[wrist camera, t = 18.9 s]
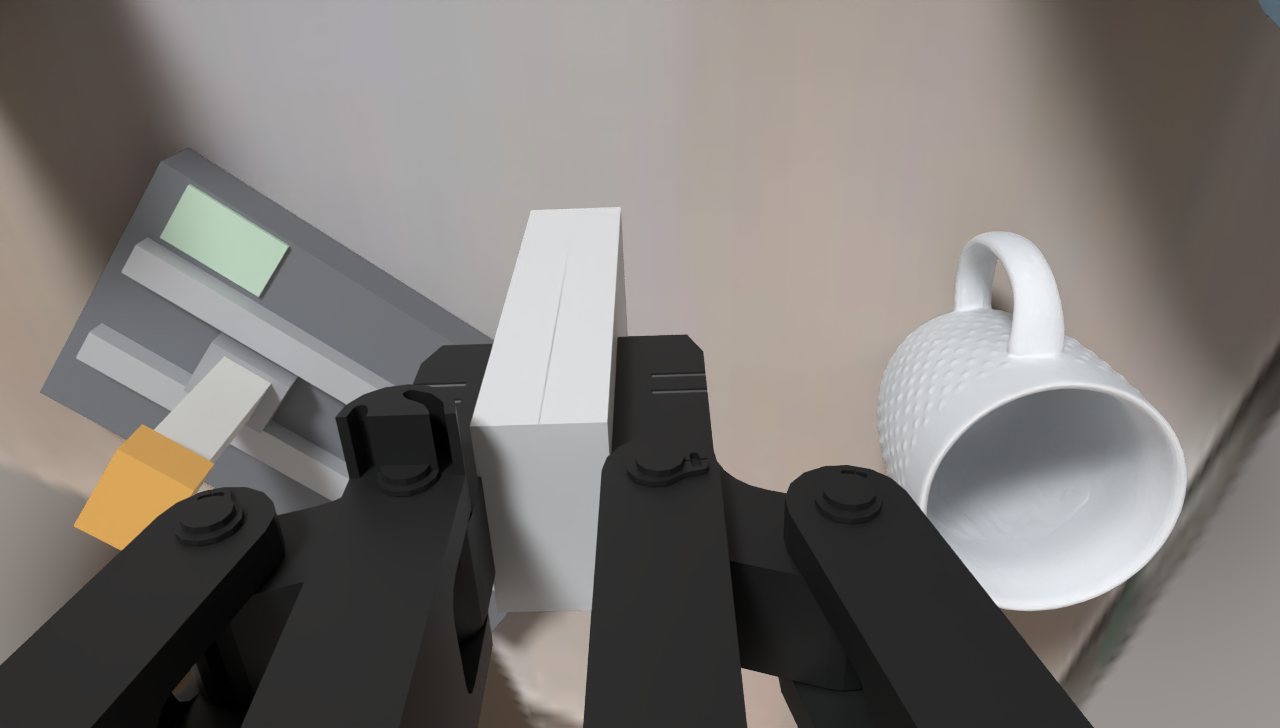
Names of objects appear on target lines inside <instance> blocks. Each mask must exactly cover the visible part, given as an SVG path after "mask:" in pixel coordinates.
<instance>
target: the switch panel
mask: <svg viewBox="0 0 1280 728" xmlns="http://www.w3.org/2000/svg"><path fill="white" fill-rule="evenodd" d="M221 332H224V333H225V334H227V335H229V336H231V337H232V338H234V339H236V340H237V341H239V342H241V343H243V344H244V345H246V346H248V347H249V348H251V349H253V350H254V351H256V352H258V353H260V354H261V355H263V356H265V357H266V358H268V359H270V360H271V361H273V362H275V363H277V364H278V365H280V366H282V367H283V368H285V369H287V370H289V371H290V372H292V373H294V374H295V375H297V376H298V378H297V379H296V381H295V382H294V384H293V386H292V387H291V389H290V390H289V392H288V393H287V395H286V397H285V398H284V400H283V401H282V403H281V404H280V406H279V408H278V409H277V411H276V412H275V414H274V416H273V417H272V419H271V420H270V421H269V423H268V424H267V426H266V427H265V428H264V430H263V431H262V432H261V434H260V433H258V432H256V431H254V430H253V429H251V428H249V427H247V426H246V425H244V426H243V428H242V429H241V430H240V432H239V433H238V434H237V435H236V437H235V438H234V439H233V441H232V442H231V443H230V444H229V446H228V447H227V448H226V449H225V451H224V452H223V453H222V455H221V456H220V457H219V458H218V460H217V461H216V462H215V463H214V466H213V467H212V469H211V471H210V472H209V474H208V475H207V477H206V479H205V480H204V482H206V483H208V484H209V485H211V486H213V487H215V488H222V487H248V488H251V489H255V490H258V491H261V492H264V493H265V494H266V495H267V496H268V497H269V498H270V499H271V500H272V501H273V502H274V506H275V509H276V513H277V515H280V514H285V513H289V512H293V511H298V510H302V509H306V508H310V507H315V506H318V505H321V504H325V503H328V502H331V501H334V500H337V499H339V498H341V497H342V494H343V492H344V490H345V488H346V485H347V483H348V481H349V475H348V471H347V467H346V462H345V458H344V454H343V449H342V445H341V441H340V436H339V432H338V428H337V423H336V419H335V417H336V416H337V415H338V413H339V412H340V411H341V410H342V409H343V408H344V406H345V405H347V404H348V403H350V402H352V401H353V400H355V399H357V398H358V397H360V396H362V395H363V394H366V393H369V392H372V391H375V390H378V389H381V388H384V387H391V386H399V385H406V384H411V385H413V382H414V380H415V377H416V375H417V372H418V370H419V367H420V365H421V363H422V362H424V361H425V360H426V359H427V358H428V357H429V356H431V355H432V354H433V353H434V352H435V351H436V350H438V349H439V348H440V347H441V346H442V345H467V344H493V343H494V340H492V339H491V338H489V337H488V336H486V335H485V334H483V333H481V332H480V331H478V330H477V329H475V328H473V327H472V326H470V325H469V324H467V323H465V322H464V321H462V320H461V319H459V318H458V317H456V316H454V315H453V314H451V313H450V312H448V311H446V310H445V309H443V308H442V307H440V306H439V305H437V304H435V303H434V302H432V301H431V300H429V299H427V298H426V297H424V296H423V295H421V294H419V293H418V292H416V291H415V290H413V289H412V288H410V287H408V286H407V285H405V284H404V283H402V282H400V281H399V280H397V279H396V278H394V277H393V276H391V275H389V274H388V273H386V272H385V271H383V270H381V269H380V268H378V267H377V266H375V265H373V264H372V263H370V262H369V261H367V260H366V259H364V258H362V257H361V256H359V255H358V254H356V253H354V252H353V251H351V250H350V249H348V248H347V247H345V246H343V245H342V244H340V243H339V242H337V241H335V240H334V239H332V238H331V237H329V236H327V235H326V234H324V233H323V232H321V231H320V230H318V229H316V228H315V227H313V226H312V225H310V224H308V223H307V222H305V221H304V220H302V219H301V218H299V217H297V216H296V215H294V214H293V213H291V212H289V211H288V210H286V209H285V208H283V207H282V206H280V205H278V204H277V203H275V202H274V201H272V200H270V199H269V198H267V197H266V196H264V195H262V194H261V193H259V192H258V191H256V190H255V189H253V188H251V187H250V186H248V185H247V184H245V183H243V182H242V181H240V180H239V179H237V178H236V177H234V176H232V175H231V174H229V173H228V172H226V171H224V170H223V169H221V168H220V167H218V166H216V165H215V164H213V163H212V162H210V161H209V160H207V159H205V158H204V157H202V156H201V155H199V154H197V153H196V152H194V151H193V150H191V149H190V148H187V149H185V150H183V151H181V152H179V153H177V154H175V155H172V156H170V157H168V158H166V159H164V160H162V161H161V162H160V164H159V166H158V167H157V169H156V171H155V173H154V175H153V177H152V179H151V181H150V183H149V185H148V187H147V188H146V190H145V192H144V194H143V196H142V198H141V200H140V202H139V204H138V206H137V208H136V210H135V211H134V213H133V215H132V217H131V219H130V221H129V223H128V225H127V227H126V229H125V231H124V232H123V234H122V236H121V238H120V240H119V242H118V244H117V246H116V248H115V250H114V252H113V253H112V255H111V257H110V259H109V261H108V263H107V265H106V267H105V269H104V271H103V273H102V275H101V276H100V278H99V280H98V282H97V284H96V286H95V288H94V290H93V292H92V294H91V296H90V297H89V299H88V301H87V303H86V305H85V307H84V309H83V311H82V313H81V315H80V317H79V319H78V320H77V322H76V324H75V326H74V328H73V330H72V332H71V334H70V336H69V338H68V340H67V341H66V343H65V345H64V347H63V349H62V351H61V353H60V355H59V357H58V359H57V361H56V362H55V364H54V366H53V368H52V370H51V372H50V374H49V376H48V378H47V380H46V382H45V384H44V385H43V387H42V389H41V391H40V393H42V394H44V395H46V396H47V397H49V398H51V399H53V400H55V401H57V402H58V403H60V404H62V405H64V406H66V407H68V408H70V409H71V410H73V411H75V412H77V413H79V414H81V415H82V416H84V417H86V418H88V419H90V420H92V421H93V422H95V423H97V424H99V425H101V426H103V427H105V428H106V429H108V430H110V431H112V432H114V433H116V434H117V435H119V436H121V437H123V438H125V439H128V438H129V437H130V436H131V435H132V434H133V433H134V432H135V431H136V430H137V429H138V428H139V427H140V426H141V425H142V424H143V425H145V426H147V427H149V428H151V429H152V430H154V429H155V428H156V427H157V426H158V425H159V424H160V423H161V422H162V421H163V420H164V419H165V418H166V417H167V416H168V415H169V414H170V412H171V411H172V410H173V409H174V408H175V407H176V406H177V405H178V404H179V403H180V402H181V401H182V400H183V399H184V398H185V397H186V396H187V395H188V394H189V393H187V392H185V391H184V388H185V387H186V385H187V383H188V381H189V380H190V378H191V376H192V375H193V373H194V371H195V369H196V368H197V366H198V364H199V363H200V361H201V359H202V358H203V356H204V354H205V352H206V351H207V349H208V347H209V346H210V344H211V342H212V341H213V340H214V339H215V338H216V337H217V336H218V335H219V334H220V333H221ZM488 613H489V619H490V626H491V633H492V631H493V630H494V629H495V628H496V626H497V625H498V624H499V623H500V622H501V620H502V619H503V618H504V617H505V615H506V614H507V613H498V610H497V603H496V597H495V590H494V584H493V589H492V594H491V599H490V604H489V609H488Z"/></svg>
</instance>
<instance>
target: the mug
mask: <svg viewBox="0 0 1280 728" xmlns="http://www.w3.org/2000/svg"><path fill="white" fill-rule="evenodd" d="M998 258H999V260H1000V261H1001V263H1002V264H1003V266H1004V268H1005V270H1006V272H1007V275H1008V277H1009V279H1010V282H1011V286H1012V289H1013V298H1014V311H1013V312H1005V311H1002V310H993V309H992V307H991V295H992V284H993V279H994V273H995V266H996V262H997V259H998ZM877 417H878V427H877V429H878V432H879V435H880V440H879V443H880V446H881V448H882V453H883V460H884V462H885V464H886V466H887V474H888V476H889V477H890V478H892V479H893V480H894V481H895V482H897V483H898V484H899V485H900V486H901V487H902V488H904V489H905V490H906V491H907V492H908V494H909V495H910V496H911V497H912V499H913V500H914V501H915V502H916V504H917V505H918V506H919V507H920V509H921V510H922V511H923V513H924V514H925V515H926V516H927V518H928V519H929V520H930V521H931V523H932V524H933V525H934V526H935V528H936V529H937V530H938V531H939V533H940V534H941V535H942V537H943V538H944V539H945V540H946V542H947V543H948V544H949V545H950V547H951V548H952V549H953V550H954V552H955V553H956V554H957V556H958V557H959V558H960V559H961V561H962V562H963V563H964V564H965V566H966V567H967V568H968V569H969V571H970V572H971V573H972V574H973V576H974V577H975V578H976V580H977V581H978V582H979V583H980V585H981V586H982V587H983V588H984V590H985V591H986V592H987V593H988V595H989V596H990V597H991V598H992V600H993V601H994V602H995V604H996V605H997V606H998V607H999V608H1002V609H1008V610H1017V611H1041V610H1051V609H1058V608H1062V607H1067V606H1071V605H1074V604H1078V603H1081V602H1084V601H1087V600H1090V599H1092V598H1095V597H1098V596H1100V595H1102V594H1104V593H1106V592H1108V591H1110V590H1112V589H1113V588H1115V587H1117V586H1119V585H1120V584H1122V583H1124V582H1125V581H1126V580H1128V579H1129V578H1130V577H1132V576H1133V575H1134V574H1136V573H1137V572H1138V571H1139V570H1140V569H1141V568H1143V567H1144V566H1145V565H1146V564H1147V563H1148V562H1149V561H1150V560H1151V559H1152V557H1153V556H1154V555H1155V554H1156V553H1157V552H1158V551H1159V549H1160V548H1161V547H1162V545H1163V544H1164V543H1165V541H1166V540H1167V538H1168V537H1169V535H1170V533H1171V531H1172V530H1173V528H1174V526H1175V523H1176V521H1177V519H1178V517H1179V515H1180V512H1181V509H1182V506H1183V502H1184V498H1185V493H1186V485H1187V468H1186V462H1185V456H1184V453H1183V449H1182V447H1181V444H1180V442H1179V440H1178V438H1177V436H1176V434H1175V432H1174V430H1173V429H1172V427H1171V426H1170V425H1169V423H1168V422H1167V420H1166V419H1165V418H1164V417H1163V416H1162V415H1161V414H1160V413H1159V412H1158V411H1157V410H1156V409H1155V408H1154V407H1153V406H1152V405H1151V404H1150V403H1149V402H1148V401H1147V400H1146V399H1145V398H1144V397H1143V396H1142V395H1141V394H1140V392H1139V390H1137V389H1135V388H1134V387H1132V386H1131V385H1130V384H1129V383H1128V382H1127V381H1126V380H1125V378H1124V377H1123V376H1122V375H1120V374H1118V373H1116V372H1115V371H1114V370H1113V369H1112V368H1111V367H1110V366H1109V364H1108V363H1107V362H1105V361H1103V360H1101V359H1100V358H1098V357H1097V356H1096V355H1095V354H1094V353H1093V351H1090V350H1088V349H1086V348H1085V347H1083V346H1082V345H1081V344H1080V343H1079V342H1078V341H1077V340H1075V339H1072V338H1070V337H1068V336H1066V335H1065V334H1064V317H1063V311H1062V305H1061V300H1060V296H1059V292H1058V288H1057V284H1056V281H1055V279H1054V276H1053V273H1052V271H1051V269H1050V267H1049V265H1048V263H1047V261H1046V259H1045V257H1044V256H1043V255H1042V253H1041V252H1040V250H1039V249H1038V248H1037V247H1036V246H1035V245H1034V244H1033V243H1032V242H1031V241H1029V240H1028V239H1027V238H1025V237H1023V236H1021V235H1018V234H1015V233H1010V232H1002V231H994V232H987V233H983V234H980V235H977V236H976V237H974V238H972V239H971V240H970V241H969V242H968V243H966V245H965V247H964V249H963V251H962V254H961V257H960V261H959V265H958V270H957V277H956V285H955V297H954V310H953V311H952V312H951V313H948V314H944V315H941V316H939V317H936V318H934V319H932V320H930V321H928V322H926V323H924V324H923V325H921V326H920V327H918V328H917V329H916V330H915V331H913V332H912V333H911V334H910V335H908V336H907V338H906V339H905V340H904V341H903V342H902V343H901V345H900V346H898V347H897V349H896V351H895V353H894V354H893V356H892V358H891V359H890V361H889V362H888V364H887V368H886V370H885V372H884V374H883V376H882V383H881V385H880V388H879V397H878V411H877Z"/></svg>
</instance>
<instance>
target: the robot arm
mask: <svg viewBox="0 0 1280 728" xmlns="http://www.w3.org/2000/svg"><path fill="white" fill-rule="evenodd" d="M1258 2H1259V4H1260V6H1261V8H1262V9H1263V11H1264V12H1265V14H1266V15H1267V16H1268V17H1270V18H1271V20H1272V21H1273V22H1274V23H1275V24H1276V25H1277V26H1278V27H1279V28H1280V0H1258ZM335 419H336V423H337V428H338V432H339V436H340V441H341V445H342V449H343V454H344V458H345V462H346V467H347V471H348V475H349V481H348V483H347V485H346V488H345V490H344V492H343V494H342V497H341V498H339V499H337V500H334V501H331V502H328V503H325V504H321V505H318V506H315V507H310V508H306V509H302V510H298V511H293V512H289V513H285V514H280V515H277V513H276V509H275V506H274V502H273V501H272V500H271V499H270V498H269V497H268V496H267V495H266V494H265V493H264V492H261V491H258V490H255V489H251V488H248V487H222V488H217V489H213V490H207V491H203V492H200V493H197V494H195V495H193V496H191V497H188V498H186V499H184V500H182V501H179V502H177V503H175V504H174V505H173V506H171V507H170V508H169V509H167V510H166V511H164V512H163V513H162V514H160V515H159V516H158V517H157V518H155V519H154V520H153V521H152V522H151V523H150V524H149V525H148V526H147V527H146V528H145V529H144V530H143V531H142V532H141V533H140V534H139V535H138V536H136V537H135V538H134V539H133V540H132V541H131V542H130V543H129V544H128V545H127V546H126V547H125V548H124V549H123V550H122V551H121V552H120V553H119V554H118V555H116V557H114V558H113V559H112V560H111V561H110V562H109V563H108V564H107V565H106V566H105V567H104V568H103V569H102V570H101V571H100V572H99V573H97V574H96V575H95V576H94V577H93V578H92V579H91V580H90V581H89V582H88V583H87V584H86V585H85V586H84V587H83V588H82V589H81V590H79V591H78V592H77V593H76V594H75V595H74V596H73V597H72V598H71V599H70V600H69V601H68V602H67V603H66V604H65V605H64V606H63V607H62V608H60V609H59V610H58V611H57V612H56V613H55V614H54V615H53V616H52V617H51V618H50V619H49V620H48V621H47V622H46V623H45V624H44V625H43V626H42V627H40V628H39V630H38V631H36V632H35V633H34V634H33V635H32V636H31V637H30V638H29V639H28V640H27V641H26V642H25V643H24V644H22V645H21V646H20V647H19V648H18V649H17V650H16V651H15V652H14V653H13V654H12V655H11V656H10V657H9V658H8V659H7V660H6V661H5V662H4V663H2V664H1V665H0V728H478V724H479V718H480V713H481V707H482V702H483V696H484V690H485V685H486V679H487V673H488V668H489V662H490V657H491V651H492V646H493V644H492V633H491V626H490V619H489V613H488V609H489V604H490V599H491V594H492V589H493V584H494V590H495V597H496V603H497V610H498V613H508V612H546V611H583V610H592V611H591V626H590V640H589V654H588V668H587V682H586V696H585V710H584V724H583V728H747V721H746V712H745V703H744V693H743V684H742V675H741V668H744V669H748V670H753V671H757V672H761V673H765V674H769V675H773V676H777V677H778V678H779V683H780V687H781V692H782V694H783V696H784V698H785V700H786V702H787V705H788V707H789V709H790V711H791V713H792V715H793V718H794V720H795V722H796V724H797V726H798V728H1094V727H1093V726H1092V725H1091V724H1090V722H1089V721H1088V720H1087V719H1086V717H1085V716H1084V715H1083V714H1082V712H1081V711H1080V710H1079V708H1078V707H1077V706H1076V705H1075V703H1074V702H1073V701H1072V700H1071V698H1070V697H1069V696H1068V695H1067V693H1066V692H1065V691H1064V690H1063V688H1062V687H1061V686H1060V684H1059V683H1058V682H1057V681H1056V679H1055V678H1054V677H1053V676H1052V674H1051V673H1050V672H1049V671H1048V669H1047V668H1046V667H1045V665H1044V664H1043V663H1042V662H1041V660H1040V659H1039V658H1038V657H1037V655H1036V654H1035V653H1034V652H1033V650H1032V649H1031V648H1030V647H1029V645H1028V644H1027V643H1026V641H1025V640H1024V639H1023V638H1022V636H1021V635H1020V634H1019V633H1018V631H1017V630H1016V629H1015V628H1014V626H1013V625H1012V624H1011V623H1010V621H1009V620H1008V619H1007V617H1006V616H1005V615H1004V614H1003V612H1002V611H1001V610H1000V609H999V607H998V606H997V605H996V604H995V602H994V601H993V600H992V598H991V597H990V596H989V595H988V593H987V592H986V591H985V590H984V588H983V587H982V586H981V585H980V583H979V582H978V581H977V580H976V578H975V577H974V576H973V574H972V573H971V572H970V571H969V569H968V568H967V567H966V566H965V564H964V563H963V562H962V561H961V559H960V558H959V557H958V556H957V554H956V553H955V552H954V550H953V549H952V548H951V547H950V545H949V544H948V543H947V542H946V540H945V539H944V538H943V537H942V535H941V534H940V533H939V531H938V530H937V529H936V528H935V526H934V525H933V524H932V523H931V521H930V520H929V519H928V518H927V516H926V515H925V514H924V513H923V511H922V510H921V509H920V507H919V506H918V505H917V504H916V502H915V501H914V500H913V499H912V497H911V496H910V495H909V494H908V492H907V491H906V490H905V489H904V488H902V487H901V486H900V485H899V484H898V483H897V482H895V481H894V480H893V479H892V478H890V477H888V476H885V475H883V474H881V473H878V472H876V471H874V470H871V469H867V468H861V467H855V466H849V465H840V466H824V467H820V468H817V469H814V470H811V471H808V472H805V473H803V474H802V475H801V476H799V477H798V478H797V479H796V480H794V481H793V482H792V483H791V484H790V486H789V489H788V491H787V493H781V492H776V491H771V490H766V489H762V488H758V487H754V486H751V485H748V484H746V483H744V482H742V481H740V480H737V479H735V478H734V477H733V476H731V475H730V474H729V473H727V472H726V471H725V470H724V469H723V468H722V467H721V466H720V464H719V463H718V462H717V460H716V457H715V454H714V450H713V440H712V431H711V421H710V412H709V402H708V393H707V383H706V376H705V364H704V355H703V351H702V350H701V349H700V348H699V347H698V346H697V345H696V344H695V343H694V342H693V341H692V339H691V338H690V337H689V336H688V335H659V336H629V337H628V335H627V316H626V298H625V279H624V260H623V241H622V222H621V207H609V208H582V209H554V210H531V213H530V216H529V220H528V223H527V227H526V230H525V234H524V237H523V241H522V244H521V248H520V252H519V255H518V259H517V262H516V266H515V269H514V273H513V276H512V280H511V283H510V287H509V290H508V294H507V297H506V301H505V304H504V308H503V311H502V315H501V318H500V322H499V325H498V329H497V332H496V336H495V339H494V343H493V344H467V345H442V346H441V347H440V348H439V349H438V350H436V351H435V352H434V353H433V354H432V355H431V356H429V357H428V358H427V359H426V360H425V361H424V362H422V363H421V365H420V367H419V370H418V372H417V375H416V377H415V380H414V382H413V385H411V384H406V385H399V386H391V387H384V388H381V389H378V390H375V391H372V392H369V393H366V394H363V395H362V396H360V397H358V398H357V399H355V400H353V401H352V402H350V403H348V404H347V405H345V406H344V408H343V409H342V410H341V411H340V412H339V413H338V415H337V416H336V417H335ZM190 669H191V670H192V673H193V676H194V677H193V679H192V680H191V681H190V682H189V683H188V684H187V686H186V687H185V688H184V689H183V690H182V691H181V692H179V693H178V694H177V695H176V696H174V695H173V694H172V691H173V690H174V689H175V687H176V686H177V685H178V684H179V683H180V681H181V680H182V679H183V678H184V677H185V675H186V674H187V673H188V672H189V671H190Z"/></svg>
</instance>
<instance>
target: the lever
mask: <svg viewBox="0 0 1280 728" xmlns="http://www.w3.org/2000/svg"><path fill="white" fill-rule="evenodd" d="M297 378H298V376H297V375H295V374H294V373H292V372H290V371H289V370H287V369H285V368H283V367H282V366H280V365H278V364H277V363H275V362H273V361H271V360H270V359H268V358H266V357H265V356H263V355H261V354H260V353H258V352H256V351H254V350H253V349H251V348H249V347H248V346H246V345H244V344H243V343H241V342H239V341H237V340H236V339H234V338H232V337H231V336H229V335H227V334H225V333H224V332H221V333H220V334H219V335H218V336H217V337H216V338H215V339H214V340H213V341H212V342H211V344H210V346H209V347H208V349H207V351H206V352H205V354H204V356H203V358H202V359H201V361H200V363H199V364H198V366H197V368H196V369H195V371H194V373H193V375H192V376H191V378H190V380H189V381H188V383H187V385H186V387H185V388H184V391H185V392H187V393H189V394H188V395H187V396H186V397H185V398H184V399H183V400H182V401H181V402H180V403H179V404H178V405H177V406H176V407H175V408H174V409H173V410H172V411H171V412H170V414H169V415H168V416H167V417H166V418H165V419H164V420H163V421H162V422H161V423H160V424H159V425H158V426H157V427H156V428H155V429H154V430H152V429H151V428H149V427H147V426H145V425H143V424H142V425H141V426H140V427H139V428H138V429H137V430H136V431H135V432H134V433H133V434H132V435H131V436H130V437H129V438H128V439H127V440H126V441H125V442H124V443H123V444H122V445H121V446H120V447H119V448H118V449H117V451H116V452H115V454H114V456H113V458H112V459H111V461H110V463H109V465H108V466H107V468H106V470H105V472H104V473H103V475H102V477H101V479H100V480H99V482H98V484H97V486H96V487H95V489H94V491H93V493H92V494H91V496H90V498H89V500H88V501H87V503H86V505H85V507H84V508H83V510H82V512H81V514H80V516H79V517H78V519H77V521H76V522H75V524H74V526H75V527H77V528H79V529H80V530H82V531H84V532H87V533H88V534H90V535H92V536H94V537H96V538H98V539H100V540H102V541H104V542H106V543H108V544H110V545H112V546H113V547H115V548H117V549H120V550H121V551H122V550H123V549H124V548H125V547H126V546H127V545H128V544H129V543H130V542H131V541H132V540H133V539H134V538H135V537H136V536H138V535H139V534H140V533H141V532H142V531H143V530H144V529H145V528H146V527H147V526H148V525H149V524H150V523H151V522H152V521H153V520H154V519H155V518H157V517H158V516H159V515H160V514H162V513H163V512H164V511H166V510H167V509H169V508H170V507H171V506H173V505H174V504H175V503H177V502H179V501H182V500H184V499H186V498H188V497H191V496H193V495H195V494H196V493H197V492H198V490H199V488H200V487H201V485H202V484H203V482H204V480H205V479H206V477H207V475H208V474H209V472H210V471H211V469H212V467H213V466H214V463H215V462H216V461H217V460H218V458H219V457H220V456H221V455H222V453H223V452H224V451H225V449H226V448H227V447H228V446H229V444H230V443H231V442H232V441H233V439H234V438H235V437H236V435H237V434H238V433H239V432H240V430H241V429H242V428H243V426H244V425H246V426H247V427H249V428H251V429H253V430H254V431H256V432H258V433H260V434H261V432H262V431H263V430H264V428H265V427H266V426H267V424H268V423H269V421H270V420H271V419H272V417H273V416H274V414H275V412H276V411H277V409H278V408H279V406H280V404H281V403H282V401H283V400H284V398H285V397H286V395H287V393H288V392H289V390H290V389H291V387H292V386H293V384H294V382H295V381H296V379H297Z"/></svg>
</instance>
